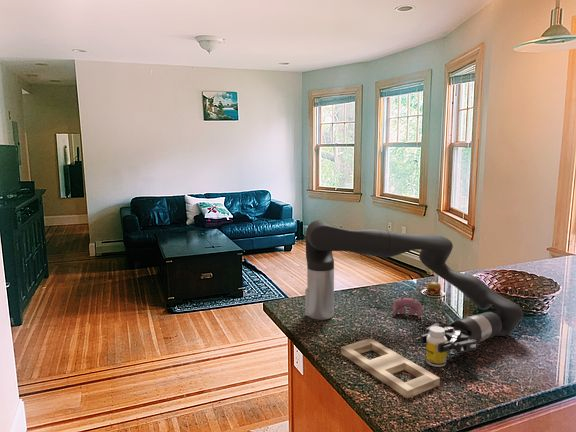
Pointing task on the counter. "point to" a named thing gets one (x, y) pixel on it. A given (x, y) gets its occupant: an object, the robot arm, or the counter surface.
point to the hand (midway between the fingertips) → (430, 344)
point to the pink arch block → (408, 302)
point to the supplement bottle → (435, 347)
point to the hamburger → (433, 289)
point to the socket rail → (390, 367)
